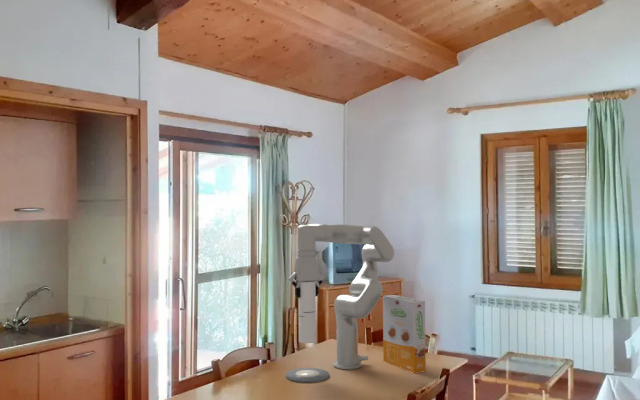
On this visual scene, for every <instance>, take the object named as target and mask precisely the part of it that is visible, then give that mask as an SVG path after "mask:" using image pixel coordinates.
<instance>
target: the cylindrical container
mask: <svg viewBox="0 0 640 400" xmlns="http://www.w3.org/2000/svg"><path fill="white" fill-rule="evenodd" d="M299 288H300V298H298V342H299V343H301V344H312V343H316V342H317V323H316V322H317V320H316V319H317V315H316V314H317V313H316V311H317V309H316V305H317V304H316V299H317V298H316V297H317V296H316V288H315V281H306V282H301V284H300V286H299Z"/></svg>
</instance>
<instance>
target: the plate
mask: <svg viewBox="0 0 640 400" xmlns="http://www.w3.org/2000/svg"><path fill="white" fill-rule="evenodd" d="M329 377H330V373H329V371H327V370H325V369H323V368H322V369H321V368H315V367H301V368H295V369H291V370H289V371H287V372H286V373H285V378H286V379H287V380H288V381H291V382H294V383H303V384H304V383H305V384H309V383H319V382H324V381H326V380H328V379H329Z"/></svg>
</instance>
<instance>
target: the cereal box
mask: <svg viewBox="0 0 640 400" xmlns="http://www.w3.org/2000/svg"><path fill="white" fill-rule="evenodd" d="M382 325H383V326H382V328H383V329H382V333H383V335H382V336H383V337H382V339H383V342H382V344H383V346H382V347H383V351H382V352H383V358H382V359H383V360H382V361H383V362H384V361H385V363H387V362H388V363H387V364H389V363H390V364H389V365H392V364H393V365H392V366H394V365H395V367H397V366H398V367H397V368H399V367H401V368H400V369H402V368H403V369H402V370H404V369H405V370H404V371H407V370H408V371H407V372H409V371H411V372H410V373H412V372H413V373H412V374H417V373H416V372H419V373H423V372H422V371H425V372H426V371H427V370H426V369H427V368H426V366H427V365H426V359H427V358H426V301H425V300H421V299H416V298H412V297H411V298H410V297H406V296H401V295H397V294H388V295H387V294H386V295H383V296H382Z"/></svg>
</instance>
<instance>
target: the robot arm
mask: <svg viewBox="0 0 640 400" xmlns="http://www.w3.org/2000/svg"><path fill="white" fill-rule="evenodd" d="M388 239H389V238H387V237H386V235H385V233H384V232H383V230H381V229H380V227H378V226H374V225H373V226H371V225H353V224H352V225H351V224H327V223H326V224H325V223H310V224H300V225H299V226H298V227H297V257H296V258H295V261H294V267H293V268H294V269H293V273H292V274H291V275H290V276H288V279H287V280H288V281H289V282H290V284H291V285H292V286H293V287H294V288H295V291H294V292H295V293H294V294H295V296H296V298H298V299H299V298H300V288H299V286H300V284H301V282H306V281H315V288H316V297H318V296H319V293H320V291H319V287H320V286H321V284H322V283H323V281H324V280H325V279H326V276H325V275H324V274H322V272H320V265H319V260H318V257H317V255H319V254H320V253H319V251H318V250H316V245H317V244H316V242H322V243H325V242H326V243H333V244H346V245H349V244H350V245H363V247H362V248H361V259H362V267H361V268H360V270H359V272H358V273H357V274H356V276H355V278H354V279H353V280H352V281H351V283H350V285H349V288H348V291H349V294H344V293H343V294H340V295H338V296H337V297H336V299H334V303H333V308H334V314H335V321H336V322H335V323H336V361H334V362H333V363H332V364H333V365H332V366H333V367H334V368H336V369H340V370H356V369H360V368H361V367H362V362H363V361H368V360H369V357H368V355H359V330H358V329H359V324H358V322H357V320H358V319H361V320H363V319H365V318H367V317H368V316H369V315H370V313H371V312H372V311H373V310H374V308H375V307H376V305H377V304H378V302H379V300H380V299H381V297H382V295H383V284H382V282H381V281H380V280H379V279H378V278H379V275H380V274H379V273H380V272H379V267H378V263H389V262H391V261H393V259H394V257H395V249H394V246H393V244H391V242H390V240H388Z"/></svg>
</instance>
